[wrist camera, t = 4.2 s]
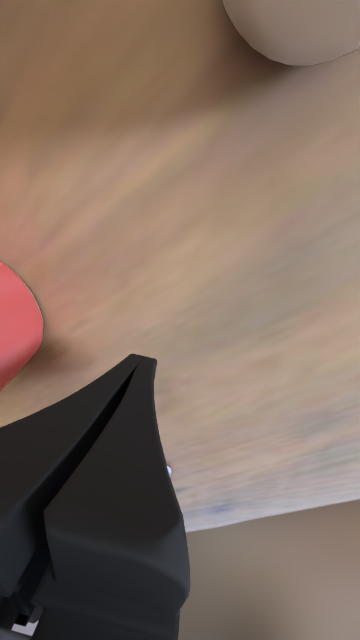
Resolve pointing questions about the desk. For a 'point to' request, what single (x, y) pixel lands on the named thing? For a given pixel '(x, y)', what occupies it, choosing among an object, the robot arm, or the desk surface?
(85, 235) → the desk surface
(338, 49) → the plastic bottle
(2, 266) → the flower pot
